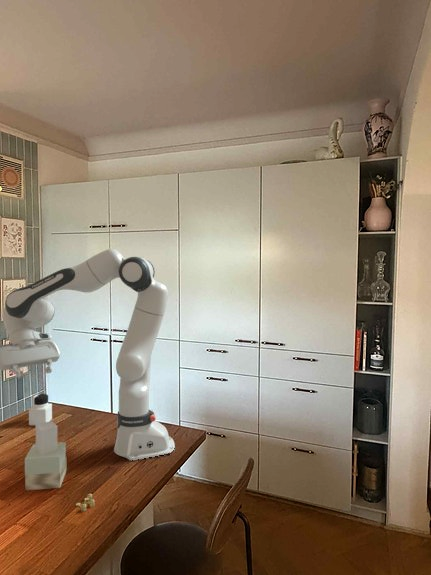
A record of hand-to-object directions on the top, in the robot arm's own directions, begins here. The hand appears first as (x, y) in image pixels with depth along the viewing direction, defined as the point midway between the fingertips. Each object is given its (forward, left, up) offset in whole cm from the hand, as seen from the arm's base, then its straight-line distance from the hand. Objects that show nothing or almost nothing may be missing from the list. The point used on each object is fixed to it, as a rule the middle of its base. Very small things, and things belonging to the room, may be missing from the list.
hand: (35, 374), depth 135 cm
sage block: (-6, +12, -26) cm, 29 cm away
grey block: (-6, +12, -21) cm, 25 cm away
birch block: (-6, +13, -31) cm, 34 cm away
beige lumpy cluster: (-21, +28, -32) cm, 47 cm away
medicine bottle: (+7, -35, -31) cm, 47 cm away
